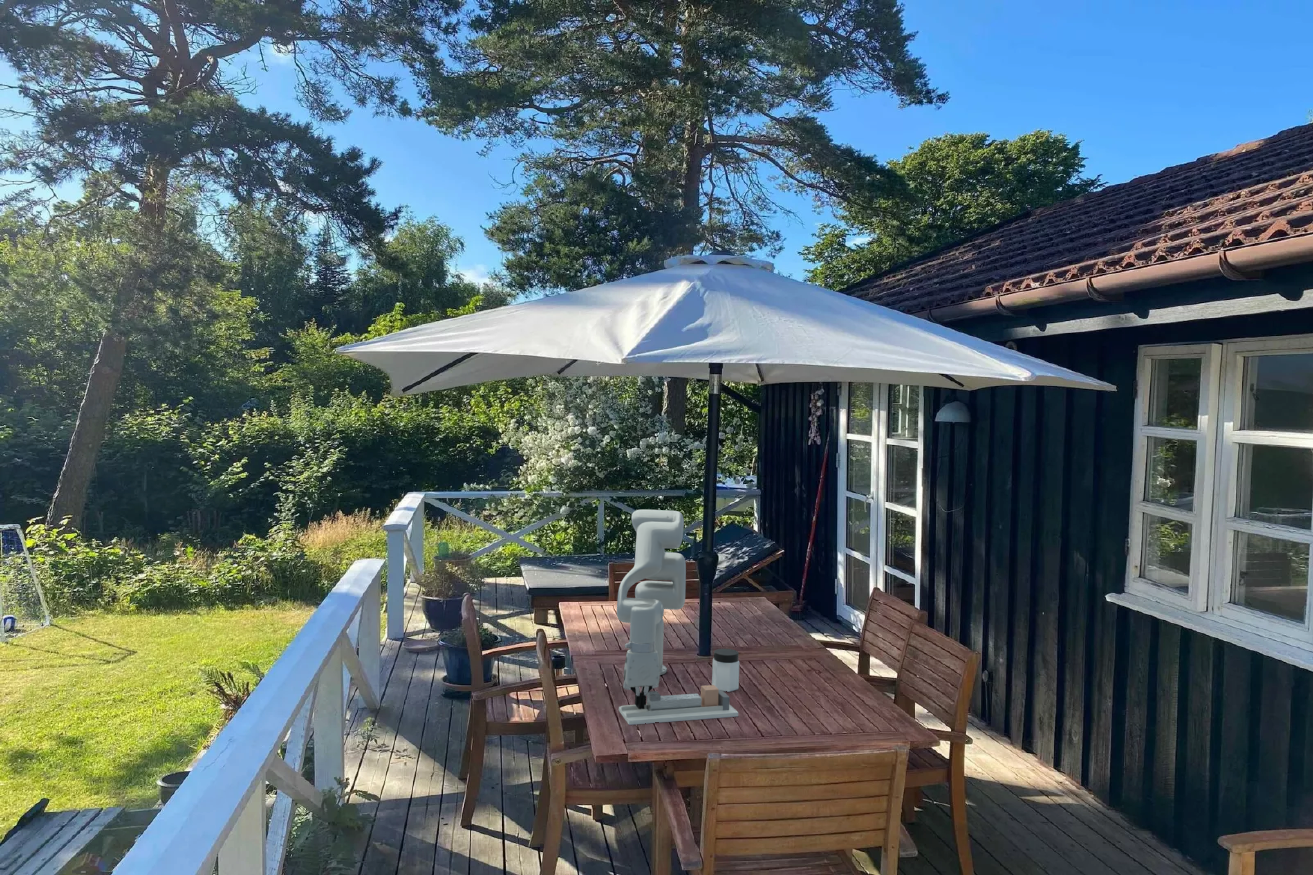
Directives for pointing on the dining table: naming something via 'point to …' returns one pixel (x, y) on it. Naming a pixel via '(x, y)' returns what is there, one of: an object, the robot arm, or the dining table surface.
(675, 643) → the dining table surface
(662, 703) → the grey sliding carriage block
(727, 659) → the jar
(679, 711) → the grey slide rail track
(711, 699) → the block
